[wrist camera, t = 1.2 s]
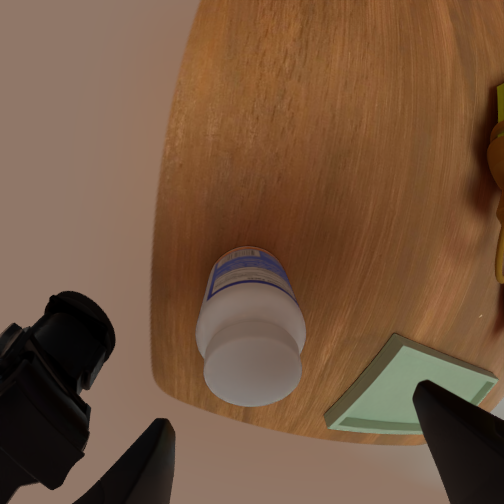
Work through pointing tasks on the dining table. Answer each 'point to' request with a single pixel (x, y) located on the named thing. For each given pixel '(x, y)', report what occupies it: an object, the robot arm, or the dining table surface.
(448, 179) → the dining table surface
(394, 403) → the tray
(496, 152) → the plumb bob
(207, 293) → the pill bottle
